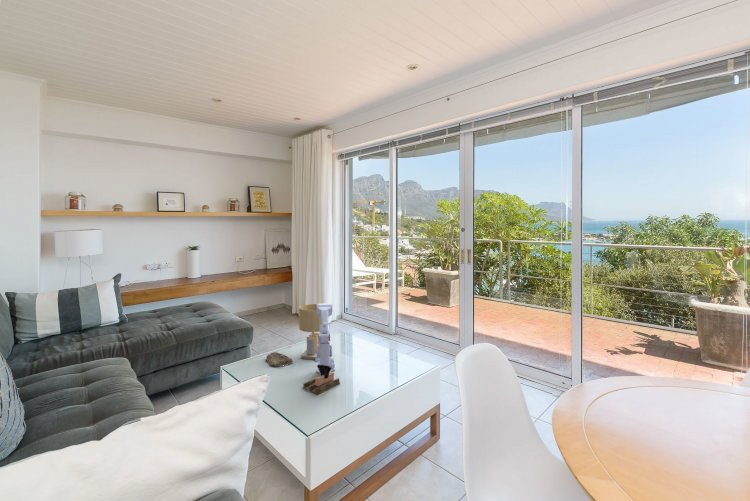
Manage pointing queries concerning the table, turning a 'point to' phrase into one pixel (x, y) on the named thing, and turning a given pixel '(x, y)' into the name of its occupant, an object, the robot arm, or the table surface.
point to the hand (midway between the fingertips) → (324, 377)
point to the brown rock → (278, 359)
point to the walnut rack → (317, 390)
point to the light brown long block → (322, 380)
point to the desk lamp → (310, 328)
